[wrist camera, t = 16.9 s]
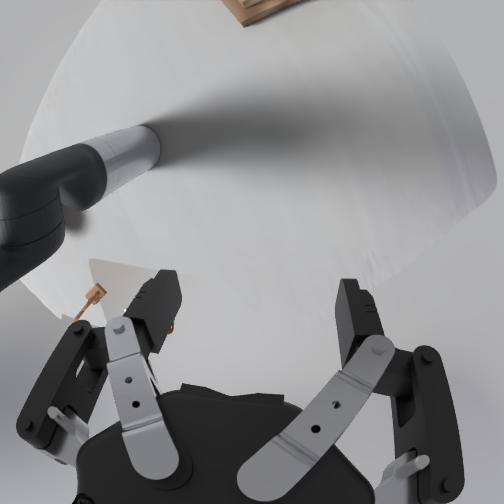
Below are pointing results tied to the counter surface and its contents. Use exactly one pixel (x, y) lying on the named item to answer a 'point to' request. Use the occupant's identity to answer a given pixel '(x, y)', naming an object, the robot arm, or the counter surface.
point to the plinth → (255, 8)
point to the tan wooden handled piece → (92, 298)
